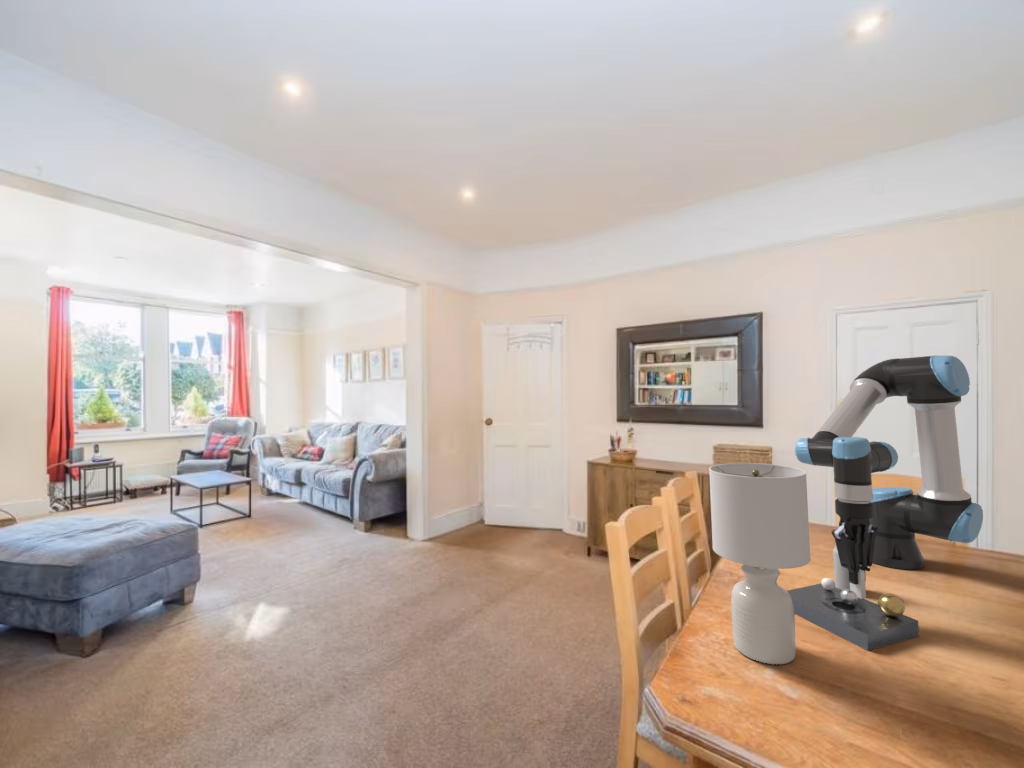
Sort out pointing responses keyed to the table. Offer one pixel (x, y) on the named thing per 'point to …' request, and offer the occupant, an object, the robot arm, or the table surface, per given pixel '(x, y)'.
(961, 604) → the table surface
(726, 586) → the table surface
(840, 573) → the beverage can
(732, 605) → the lamp
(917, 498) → the robot arm
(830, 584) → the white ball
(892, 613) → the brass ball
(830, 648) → the table surface
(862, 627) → the plate
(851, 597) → the steel ball
